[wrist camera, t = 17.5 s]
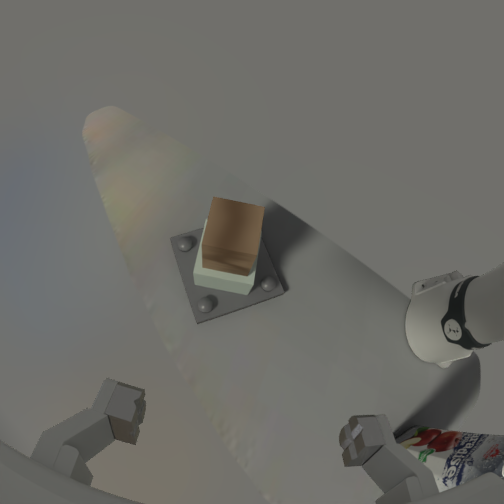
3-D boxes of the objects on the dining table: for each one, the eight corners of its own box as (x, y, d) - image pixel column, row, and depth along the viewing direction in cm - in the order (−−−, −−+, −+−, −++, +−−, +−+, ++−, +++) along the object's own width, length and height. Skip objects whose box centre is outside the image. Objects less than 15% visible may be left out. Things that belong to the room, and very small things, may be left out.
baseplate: (250, 218, 51) (257, 195, 44) (282, 294, 47) (295, 282, 40) (170, 241, 47) (165, 220, 40) (197, 324, 43) (195, 316, 36)
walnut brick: (254, 235, 41) (264, 207, 34) (247, 276, 39) (257, 255, 32) (211, 227, 41) (213, 196, 33) (202, 267, 39) (201, 244, 31)
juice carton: (424, 453, 39) (533, 473, 14) (381, 482, 36) (488, 526, 11) (417, 418, 41) (536, 425, 16) (372, 446, 39) (491, 481, 14)
